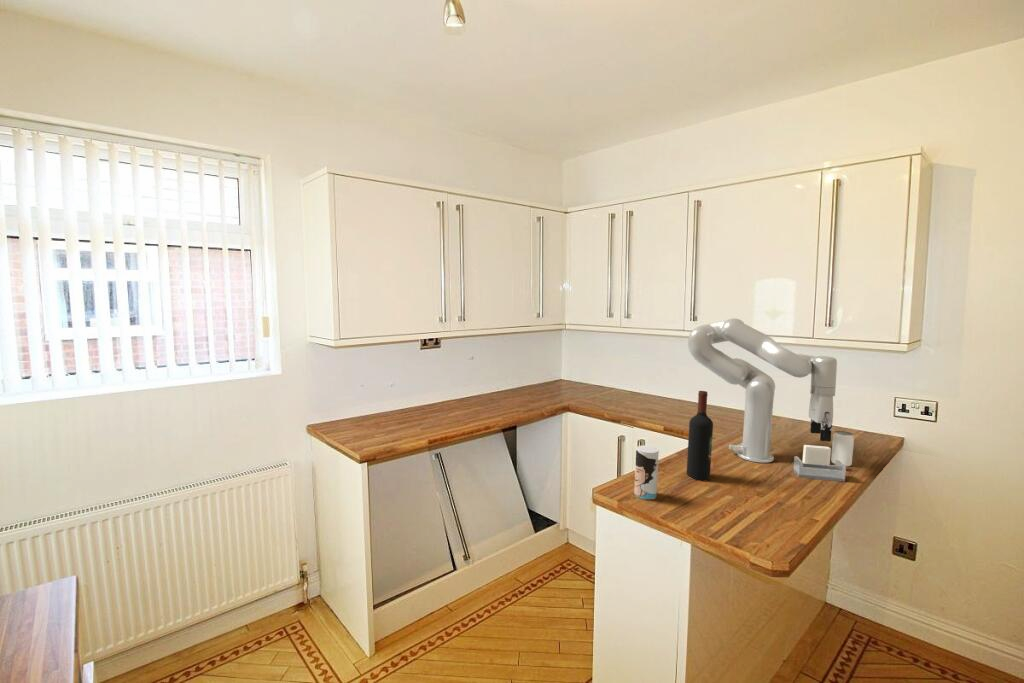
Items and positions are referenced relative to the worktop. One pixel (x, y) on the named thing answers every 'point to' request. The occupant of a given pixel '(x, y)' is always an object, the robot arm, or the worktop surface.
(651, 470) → the cup
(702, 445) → the wine bottle
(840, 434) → the can
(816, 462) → the plain white block
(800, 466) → the track
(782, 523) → the worktop surface
